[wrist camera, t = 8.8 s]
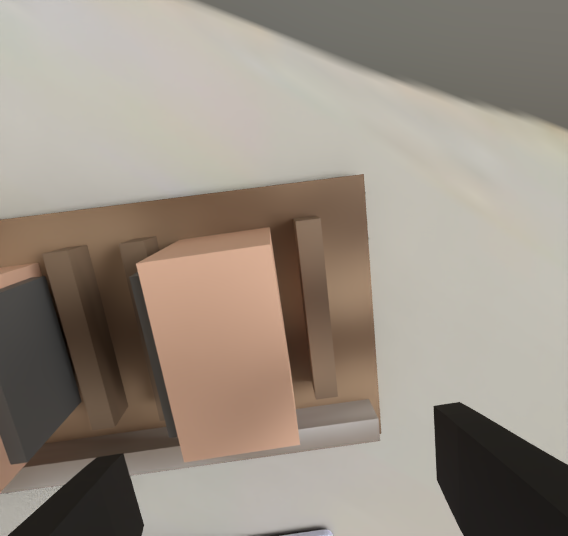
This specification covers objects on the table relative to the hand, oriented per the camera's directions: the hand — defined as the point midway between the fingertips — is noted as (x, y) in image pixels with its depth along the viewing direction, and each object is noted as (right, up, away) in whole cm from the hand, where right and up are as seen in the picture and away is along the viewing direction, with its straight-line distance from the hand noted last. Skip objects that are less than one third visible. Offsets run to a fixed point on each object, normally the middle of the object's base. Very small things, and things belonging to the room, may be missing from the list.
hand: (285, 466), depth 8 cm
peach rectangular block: (-2, +3, +8) cm, 9 cm away
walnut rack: (-7, +1, +9) cm, 11 cm away
